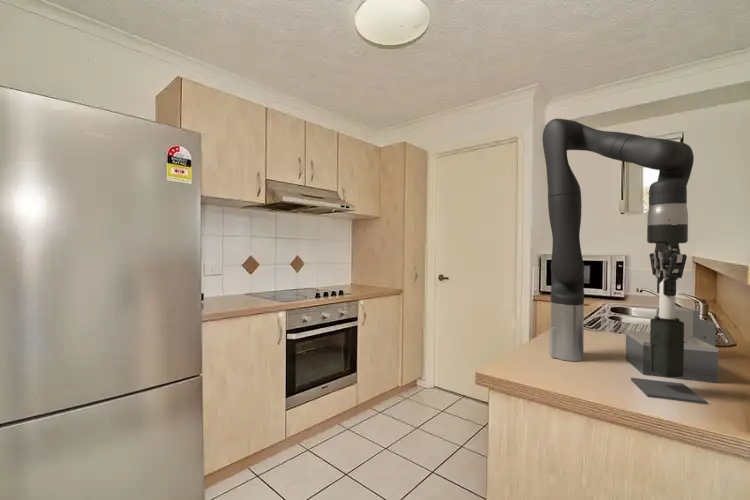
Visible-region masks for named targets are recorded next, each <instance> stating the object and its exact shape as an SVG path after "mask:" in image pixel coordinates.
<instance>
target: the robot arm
mask: <svg viewBox="0 0 750 500" xmlns="http://www.w3.org/2000/svg"><path fill="white" fill-rule="evenodd" d="M541 139H542V140H541V141H542V147H543V148H542V149H543V153H544V159H545V160H544V161H545V168H546V179H547V180H546V181H547V208H548V217H549V224H550V229H551V236H552V248H551V249H552V252H551V262H550V270H551V271H550V273H551V276H550V277H551V284H550V323H549V325H548V326H549V329H548V330H549V331H548V333H549V336H548V337H549V339H548V340H549V341H548V344H549V345H548V347H549V349H548V350H549V351H548V353H549V354H550V356H551V358H552V359H558V360H562V361H569V362H580V361H583V360H584V347H585V346H584V345H585V343H584V337H585V336H584V330H585V329H584V328H585V326H584V323H585V322H584V320H585V319H584V316H585V315H584V313H585V308H584V307H585V290H584V287H585V285H584V282H585V264H584V260H583V255H582V248H581V239H580V231H581V225H582V224H581V223H582V222H581V221H582V206H583V205H582V192H581V191H582V189H581V187H580V184H579V181H578V179H577V177H576V176H575V174H574V172H573V170H572V169H571V166H570V164H569V160H568V151H587V152H588V151H589V152H590V153H591V152H592V153H596V154H598V155H600V156H602V157H605V158H607V159H610V160H611V159H612V160H615V161H621V162H624V163H630V164H634V165H637V166H640V167H644V168H647V169H651V170H655V171H659V172H658V177H657V181H655V182H653V183H651V184H650V186H649V188H648V189H649V190H648V208H647V209H648V210H647V216H646V217H647V218H646V219H647V221H646V223H647V224H646V225H647V228H646V232H647V233H646V234H647V235H646V236H647V237H646V241H647V243H649V244H655V246H654V247H655V248H654V251H653V253H649V259H650V265H651V267H650V268H651V271H652V275H653V276H655V279H656V293H657V294H659V286H660V283H661V282H662V281H663V294H664V295H666V296H675V297H676V296H677V281H678V280H679V279H682V277H683V274H684V270H685V265H686V262H687V257H688V256H687V254H686V253H685V254H683V253H681V249H680V244H686V243H688V241H689V240H688V239H689V210H688V201H687V200H688V190H687V189H688V188H687V186H688V183H689V180H690V178H691V173H692V169H693V167H694V160H695V159H694V156H695V155H694V152H693V149H692V147H691V146H690V145H689V144H687V143H685V142H682V141H675V140H671V139H666V138H665V139H664V138H659V137H658V138H657V137H649V136H648V137H647V136H645V135H639V134H633V133H627V132H619V131H607V130H600V129H596V128H592V127H590V126H587V125H585V124H584V123H580V122H578V121H576V120H571V119H566V118H553V119H551V120H549V121H548V122H547V123H546V125H545V127H544V129H543V132H542V138H541ZM663 279H664V280H663Z"/></svg>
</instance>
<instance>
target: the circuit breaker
mask: <svg viewBox="0 0 750 500" xmlns="http://www.w3.org/2000/svg"><path fill="white" fill-rule="evenodd" d="M655 316H659V305H657V306H656V311H655ZM675 318H678V319H680V321H681V322H684V335H690V336H693V337H695V338H697V339H699V340H701V341H703V342H706V343H708V344H710V345H712V346H714V347H716V336H717V335H718V331H717V327H716V326H717V325H716V323H715V322H711V321H707V320H704V319H701V318H700V310H696V309H692V308H688V307H684V306H675Z"/></svg>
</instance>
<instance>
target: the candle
mask: <svg viewBox="0 0 750 500" xmlns="http://www.w3.org/2000/svg"><path fill="white" fill-rule="evenodd" d="M663 280H664V279H663ZM658 294H659V296H658V297H659V298H658V303H659V305H658V306H659V314H658V316H656V315H655V316H654V318H650V326H649V327H650V329H649V332H650V370H651V371H653V372H656V373H658V374H661V375H663V376H666V377H665V378H667V377H683V371H684V322H681V321H680V319H678V318H675V307H676V295H675V296H666V295H664V294H663V281H662V282H661V283H660V286H659V293H658Z"/></svg>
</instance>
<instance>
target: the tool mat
mask: <svg viewBox="0 0 750 500" xmlns="http://www.w3.org/2000/svg"><path fill="white" fill-rule="evenodd" d="M630 381H631V382H632V383H633V384H634V385H635V386H636V387H637V388H639V390H640V391H641V392H642V393H644V395H645V396H646V397H647V398H648V397H649V398H655V399H656V398H658V399H661V400H662V399H663V400H671V401H678V402H685V403H686V402H687V403H695V404H700V405H701V404H702V405H708V400H706V399H705V398H703V397H702V396H700V395H699V394H698V393H696V392H695V391H694V390H692V389H691V388H689V387H688V386H687V385H686V384H685V383H681V382H673V381H665V380H657V379H646V378H637V377H630Z"/></svg>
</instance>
